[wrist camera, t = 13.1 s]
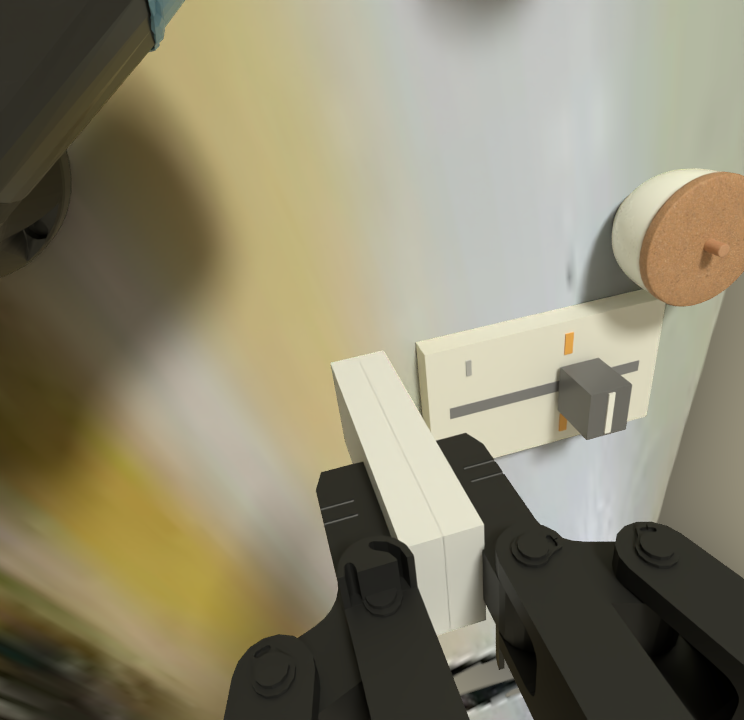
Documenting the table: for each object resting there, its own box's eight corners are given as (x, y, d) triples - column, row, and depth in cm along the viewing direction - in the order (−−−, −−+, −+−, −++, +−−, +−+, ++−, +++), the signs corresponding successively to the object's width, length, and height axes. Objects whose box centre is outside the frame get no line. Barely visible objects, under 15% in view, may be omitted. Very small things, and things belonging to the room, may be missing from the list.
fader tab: (557, 409, 54) (587, 441, 50) (560, 367, 52) (592, 396, 48) (593, 400, 55) (626, 430, 51) (598, 357, 52) (633, 385, 48)
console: (426, 458, 57) (434, 475, 55) (415, 342, 50) (425, 355, 48) (631, 403, 61) (647, 417, 59) (648, 287, 54) (667, 297, 52)
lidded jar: (582, 284, 52) (650, 326, 44) (596, 165, 46) (676, 189, 38) (681, 265, 54) (764, 302, 46) (706, 149, 48) (804, 168, 40)
